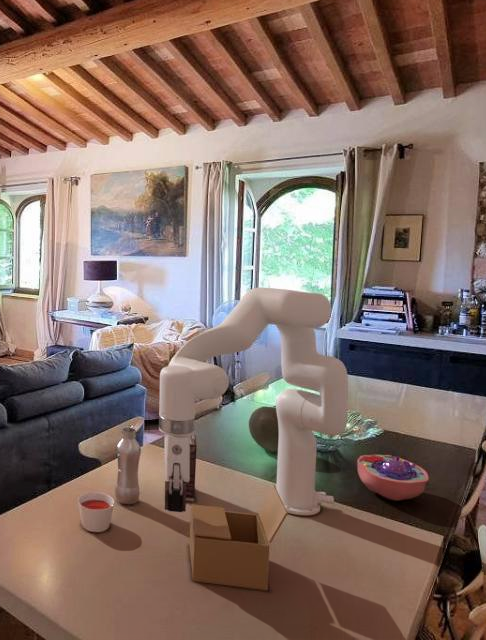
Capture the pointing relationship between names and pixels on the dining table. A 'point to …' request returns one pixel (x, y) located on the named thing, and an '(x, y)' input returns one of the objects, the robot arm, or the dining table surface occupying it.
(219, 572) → the carton
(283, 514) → the flap
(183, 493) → the block
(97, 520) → the white cup
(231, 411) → the dining table surface
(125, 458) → the silver metal bottle
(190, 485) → the supplement box
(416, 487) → the cell model
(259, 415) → the dark brown egg shape
